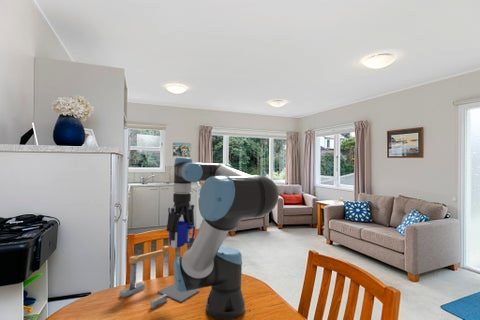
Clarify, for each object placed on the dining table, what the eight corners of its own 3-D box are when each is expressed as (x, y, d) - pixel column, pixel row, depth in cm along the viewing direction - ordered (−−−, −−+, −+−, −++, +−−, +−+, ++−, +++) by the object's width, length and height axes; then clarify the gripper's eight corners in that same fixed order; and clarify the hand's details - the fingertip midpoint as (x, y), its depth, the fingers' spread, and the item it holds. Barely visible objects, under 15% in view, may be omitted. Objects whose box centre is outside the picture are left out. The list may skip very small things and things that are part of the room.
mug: (190, 250, 109) (191, 226, 109) (164, 247, 112) (165, 224, 112) (197, 244, 117) (198, 222, 117) (173, 242, 120) (173, 220, 120)
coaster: (199, 292, 114) (199, 290, 114) (181, 302, 105) (181, 301, 105) (176, 283, 122) (176, 282, 122) (157, 292, 113) (157, 291, 113)
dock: (169, 299, 107) (170, 269, 107) (149, 310, 99) (151, 277, 99) (140, 286, 117) (141, 259, 118) (119, 296, 109) (120, 266, 109)
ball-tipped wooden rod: (165, 251, 127) (165, 245, 127) (169, 253, 124) (170, 247, 124) (127, 262, 112) (127, 254, 112) (131, 264, 110) (131, 256, 110)
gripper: (191, 190, 125) (189, 238, 124) (158, 193, 108) (156, 249, 107) (203, 191, 121) (201, 241, 120) (171, 195, 104) (169, 253, 103)
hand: (180, 245), depth 114 cm, fingers closed on mug, 7 cm apart
